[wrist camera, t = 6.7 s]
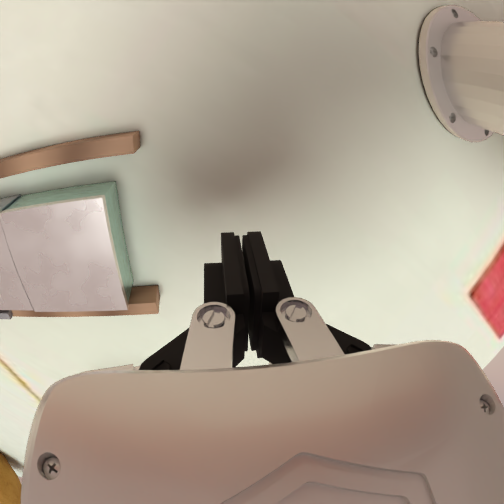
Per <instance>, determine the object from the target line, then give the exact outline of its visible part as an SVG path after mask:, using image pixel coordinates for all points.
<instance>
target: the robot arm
mask: <svg viewBox="0 0 504 504" xmlns="http://www.w3.org/2000/svg"><path fill="white" fill-rule="evenodd" d="M419 64H420V71H421V76H422V81H423V84H424V88H425V91H426V94H427V97H428V99H429V102H430V104H431V106H432V109H433V110H434V112H435V114H436V115H437V117H438V119H439V121H440V122H441V123H442V124H443V125H444V127H445V128H446V129H447V130H448V131H449V132H451V133H452V134H453V135H454V136H456V137H459V138H461V139H463V140H467V141H470V142H480V141H483V140H486V139H487V138H488V137H490V136H491V135H492V134H493V133H494V132H495V133H498V134H501V135H503V136H504V22H496V21H481V20H480V19H479V18H478V17H477V16H476V15H475V14H473V13H472V12H471V11H469V10H467V9H465V8H463V7H460V6H457V5H447V6H441V7H437V8H436V9H434V10H432V11H431V12H430V13H429V15H428V16H427V17H426V18H425V21H424V23H423V25H422V28H421V32H420V37H419ZM221 253H222V263H204V304H202V305H200V306H199V307H198V308H196V309H195V311H194V313H193V315H192V319H191V323H190V328H188V329H187V330H186V331H184V332H183V333H181V334H180V335H179V336H177V337H176V338H175V339H173V340H172V341H171V342H169V343H168V344H167V345H165V346H164V347H162V348H161V349H160V350H158V351H157V352H156V353H154V354H153V355H152V356H150V357H149V358H147V359H146V360H145V361H144V362H143V363H142V364H141V366H136V367H134V366H133V364H130V365H124V366H118V367H111V368H105V369H98V370H90V371H85V372H82V373H79V374H75V375H72V376H68V377H66V378H63V379H61V380H59V381H57V382H55V383H54V384H52V385H51V386H50V387H49V388H48V389H47V390H46V392H45V393H44V395H43V397H42V399H41V400H40V403H39V405H38V408H37V410H36V413H35V416H34V419H33V422H32V426H31V430H30V434H29V438H28V443H27V447H26V454H25V460H24V468H23V476H22V486H21V504H504V407H503V405H502V403H501V401H500V400H499V397H498V395H497V394H496V392H495V390H494V388H493V386H492V385H491V383H490V381H489V380H488V378H487V377H486V375H485V373H484V372H483V370H482V369H481V367H480V366H479V364H478V363H477V362H476V360H475V359H474V358H473V357H472V355H471V354H470V353H469V352H468V351H467V350H466V349H465V348H463V347H462V346H460V345H459V344H456V343H453V342H449V341H441V340H424V341H415V342H410V343H404V344H399V345H385V344H374V346H373V347H370V346H369V345H368V344H366V343H365V342H363V341H361V340H359V339H357V338H355V337H352V336H350V335H348V334H346V333H344V332H342V331H340V330H338V329H336V328H334V327H332V326H330V325H328V324H325V322H324V321H323V319H322V317H321V316H320V314H319V313H318V311H317V310H316V308H315V307H314V305H313V304H312V303H311V302H309V301H307V300H305V299H302V298H298V297H294V295H293V292H292V290H291V287H290V284H289V281H288V278H287V276H286V273H285V270H284V268H283V265H282V262H281V261H280V260H275V261H270V260H269V256H268V253H267V250H266V247H265V244H264V241H263V237H262V234H261V232H248V233H247V235H243V239H242V249H241V243H240V238H239V236H234V232H230V233H221ZM248 333H249V339H250V346H251V350H252V351H254V350H256V352H257V358H264V359H265V360H267V361H269V365H261V366H249V367H236V366H237V365H238V364H239V363H240V362H241V361H242V360H243V359H244V351H247V350H248Z"/></svg>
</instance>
